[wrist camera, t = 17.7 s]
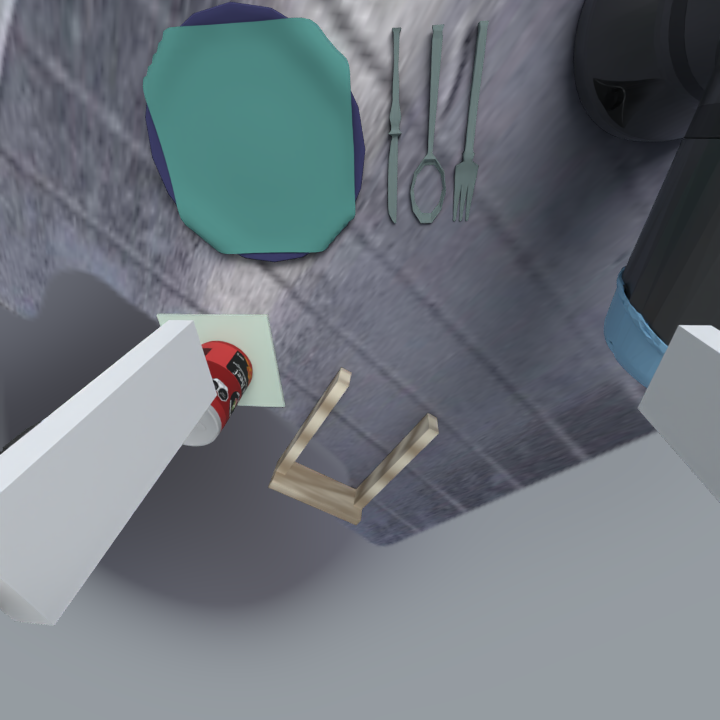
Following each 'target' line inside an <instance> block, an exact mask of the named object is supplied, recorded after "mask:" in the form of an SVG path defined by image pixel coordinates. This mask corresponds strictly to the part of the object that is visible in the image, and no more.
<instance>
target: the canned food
mask: <svg viewBox="0 0 720 720" xmlns="http://www.w3.org/2000/svg"><path fill="white" fill-rule="evenodd" d="M201 346H202V349H203V352H204V355H205V358H206V361H207V364H208V368H209V371H210V374H211V377H212V380H213V383H214V386H215V390H216V393H217V396H216V397H215V398H214V400H213V401H212V403H211V404H210V406H209V407H208V408H207V410H206V411H205V413H204V414H203V415H202V417H201V418H200V420H199V421H198V423H197V424H196V425H195V427H194V428H193V430H192V431H191V432H190V434H189V435H188V437H187V438H186V439H185V441H184V442H183V444H184V445H189V446H202V445H207V444H209V443H211V442H213V441H214V440H215V438H216V437H217V436H218V435H219V434H220V432H221V430H222V429H223V427H224V426H225V424H226V423H227V421H228V419H229V418H230V416H231V414H232V412H233V411H234V409H235V407H236V406H237V404H238V402H239V401H240V399H241V397H242V396H243V394H244V392H245V391H246V389H247V387H248V386H249V384H250V382H251V380H252V373H253V368H252V364H251V362H250V360H249V358H248V357H247V355H246V354H245V353H244V352H243V351H242V350H241V349H239V348H238V347H236V346H235V345H233V344H230V343H228V342H224V341H209V342H206V343H204V344H202V345H201Z"/></svg>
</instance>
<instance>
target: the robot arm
mask: <svg viewBox="0 0 720 720" xmlns="http://www.w3.org/2000/svg"><path fill="white" fill-rule="evenodd" d="M574 76H575V83H576V87H577V91H578V94H579V97H580V100H581V102H582V105H583V106H584V108H585V110H586V112H587V113H588V115H589V116H590V117H591V119H592V120H593V121H594V122H595V123H596V124H597V125H598V126H599V127H600V128H602V129H603V130H605V131H606V132H608V133H610V134H612V135H614V136H616V137H619V138H622V139H626V140H631V141H669V140H675V139H679V138H686V139H683V140H682V142H681V144H680V147H679V149H678V151H677V153H676V156H675V158H674V160H673V162H672V164H671V167H670V169H669V171H668V173H667V176H666V178H665V180H664V182H663V185H662V187H661V189H660V191H659V194H658V196H657V198H656V200H655V203H654V205H653V207H652V209H651V212H650V214H649V216H648V218H647V220H646V223H645V225H644V227H643V229H642V232H641V234H640V236H639V238H638V241H637V243H636V245H635V247H634V250H633V252H632V254H631V256H630V259H629V261H628V263H627V265H626V266H625V267H623V268H622V269H621V271H620V273H619V275H618V278H617V289H616V291H615V294H614V297H613V299H612V302H611V305H610V307H609V310H608V313H607V315H606V318H605V322H604V336H605V340H606V342H607V344H608V346H609V349H610V350H611V351H612V352H613V353H614V356H615V358H616V360H617V361H618V362H619V364H620V365H621V366H622V367H623V368H624V369H625V370H626V371H627V372H628V373H629V374H630V375H631V376H632V377H633V378H635V379H636V380H637V381H638V382H639V383H641V384H642V385H643V386H645V387H646V388H647V390H646V392H645V394H644V396H643V398H642V400H641V402H640V404H639V406H638V409H639V411H640V412H641V413H642V414H643V415H644V416H645V417H646V419H647V420H648V421H649V422H650V423H651V424H652V426H653V427H654V428H655V429H656V430H657V431H658V432H659V434H660V435H661V436H662V437H663V438H664V439H665V441H666V442H667V443H668V444H669V445H670V446H671V447H672V449H673V450H674V451H675V452H676V453H677V454H678V455H679V457H680V458H681V459H682V460H683V461H684V462H685V463H686V465H687V466H688V467H689V468H690V469H691V470H692V472H693V473H694V474H695V475H696V476H697V477H698V478H699V480H700V481H701V482H702V483H703V484H704V485H705V487H706V488H707V489H708V490H709V491H710V492H711V493H712V495H713V496H714V497H715V498H716V499H717V500H718V501H719V503H720V0H585V3H584V6H583V9H582V12H581V15H580V19H579V23H578V27H577V32H576V38H575V46H574ZM216 396H217V393H216V390H215V386H214V383H213V380H212V377H211V374H210V371H209V368H208V364H207V361H206V358H205V355H204V352H203V349H202V346H201V342H200V339H199V336H198V333H197V330H196V327H195V324H194V320H168V321H167V322H166V323H165V324H163V325H162V326H161V327H160V328H158V329H157V330H156V331H155V332H153V333H152V334H151V335H150V336H148V337H147V338H146V339H145V340H143V341H142V342H141V343H140V344H138V345H137V346H136V347H135V348H133V349H132V350H131V351H130V352H128V353H127V354H126V355H125V356H123V357H122V358H121V359H120V360H118V361H117V362H116V363H114V364H113V365H112V366H111V367H110V368H108V369H107V370H106V371H105V372H103V373H102V374H101V375H99V376H98V377H97V378H96V379H95V380H93V381H92V382H91V383H89V384H88V385H87V386H86V387H85V388H83V389H82V390H81V391H79V392H78V393H77V394H76V395H74V396H73V397H72V398H71V399H70V400H68V401H67V402H66V403H65V404H63V405H62V406H61V407H59V408H58V409H57V410H56V411H54V412H53V413H52V414H51V415H49V416H48V417H47V418H46V419H44V420H42V421H40V422H38V423H37V424H35V425H33V426H31V427H29V428H27V429H26V430H25V431H24V432H22V433H21V434H20V435H18V436H17V437H16V438H14V439H13V440H12V441H11V442H9V443H8V444H7V445H6V446H4V447H3V451H2V452H0V609H1V610H2V611H3V612H4V613H6V614H7V615H8V616H9V617H11V618H12V619H13V620H14V621H17V622H26V623H35V624H44V625H55V624H56V622H57V621H58V619H59V618H60V616H61V615H62V614H63V612H64V610H65V609H66V608H67V607H68V605H69V604H70V602H71V601H72V599H73V598H74V597H75V595H76V594H77V592H78V591H79V589H80V588H81V587H82V585H83V584H84V582H85V581H86V580H87V578H88V577H89V575H90V574H91V572H92V571H93V570H94V568H95V567H96V565H97V564H98V562H99V561H100V560H101V558H102V557H103V556H104V554H105V553H106V551H107V550H108V549H109V547H110V546H111V544H112V543H113V541H114V540H115V539H116V537H117V536H118V534H119V533H120V531H121V530H122V529H123V527H124V526H125V524H126V523H127V522H128V520H129V519H130V517H131V516H132V514H133V513H134V512H135V510H136V509H137V507H138V506H139V505H140V503H141V502H142V500H143V499H144V497H145V496H146V495H147V493H148V492H149V490H150V489H151V488H152V486H153V485H154V483H155V482H156V481H157V479H158V478H159V476H160V475H161V473H162V472H163V471H164V469H165V468H166V466H167V465H168V464H169V462H170V461H171V459H172V458H173V456H174V455H175V454H176V452H177V451H178V449H179V448H180V447H181V445H182V444H183V442H184V441H185V439H186V438H187V437H188V435H189V434H190V432H191V431H192V430H193V428H194V427H195V425H196V424H197V423H198V421H199V420H200V418H201V417H202V415H203V414H204V413H205V411H206V410H207V408H208V407H209V406H210V404H211V403H212V401H213V400H214V398H215V397H216Z"/></svg>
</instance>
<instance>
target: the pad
mask: <svg viewBox="0 0 720 720" xmlns="http://www.w3.org/2000/svg"><path fill="white" fill-rule="evenodd" d="M157 318H158V320H159V323H160V326H162V325H163V324H165V323H166V322H167V321H168V320H194V324H195V327H196V330H197V333H198V336H199V339H200V342H201V345H202V344H204V343H206V342H209V341H224V342H228V343H230V344H233V345H235V346H236V347H238V348H239V349H241V350H242V351H243V352H244V353H245V354H246V355H247V357H248V358H249V360H250V362H251V364H252V368H253V373H252V380H251V382H250V384H249V386H248V387H247V389H246V391H245V392H244V394H243V396H242V397H241V399H240V401H239V402H238V404H237V406H238V405H239V406H266V407H285V402H284V397H283V391H282V386H281V381H280V376H279V370H278V365H277V360H276V355H275V350H274V344H273V339H272V334H271V329H270V324H269V318H268V315H238V314H158V315H157Z"/></svg>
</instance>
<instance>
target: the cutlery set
mask: <svg viewBox="0 0 720 720" xmlns="http://www.w3.org/2000/svg"><path fill="white" fill-rule="evenodd" d="M488 22H489V21H480V22H479V23H478V35H477V42H476V51H475V60H474V68H473V76H472V85H471V94H470V104H469V113H468V122H467V132H466V142H465V152H463V161H462V162H461V163H459V164H458V165H456V166H455V187H454V210H453V221H456V214H457V208H458V202H459V196H460V190H461V196H460V215H459V221H462V216H463V209H464V204H465V198H466V193H467V203H466V220H465V221H468V217H469V211H470V206H471V200H472V195H473V190H474V185H475V181H476V177H477V171H478V167H479V166H478V165H477V164H475V163H474V162H472V160H473V157H474V155H475V153H474V152H473V145H474V136H475V126H476V116H477V108H478V100H479V92H480V84H481V76H482V69H483V61H484V53H485V45H486V36H487V26H488ZM443 27H444V24H443V25H432V29H433V38H432V60H431V87H430V112H429V137H428V154H427V155H426V157H425V158H424V159H423V161H422V162H421V164H420V165H419V167H418V168H417V169H416V171H415V172H414V177H413V181H412V186H411V191H410V194H411V201H412V208H413V212H414V213H415V215H416V216H417V218H418V220H419V221H420V223H432V221H433V220H434V219H435V217H436V216H437V215H438V213H439V212H440V211H441V208H442V204H443V200H444V196H445V192H446V186H445V176H444V170H443V169H442V167H441V166H440V164H439V162H438V161H437V159H436V158H435V156H434V155H433V153H432V151H433V141H434V130H435V118H436V108H437V97H438V85H439V74H440V62H441V51H442V39H443V35H442V30H443ZM392 31H393V33H394V74H393V102H392V107H391V113H390V122H391V131H390V133H389V134H390V135H391V136H392V141H391V147H390V156H389V167H388V210H389V214H390V217H391V219H392V221H393V222H394V223H396V212H397V158H398V136H399V135H400V134H401V132H400V130H399V123H400V120H401V113H400V107H399V73H398V60H399V33H400V31H401V28H392ZM143 90H144V95H145V99H146V102H147V105H146V116H145V119H146V124H147V130H148V136H149V141H150V147H151V153H152V158H153V160H154V163H155V165H156V167H157V169H158V172H159V174H160V176H161V178H162V181H163V183H164V185H165V187H166V190H167V192H168V194H169V195H170V197H171V198H172V199H173V201H174V202H175V203H176V205H177V208H178V212H179V214H180V217H181V219H182V221H183V222H184V223H185V225H186V226H188V227H189V228H190V229H191V230H193V231H194V232H195V233H196V234H197V235H199V236H200V237H201V238H202V239H204V240H205V241H206V242H207V243H208V244H210V245H211V246H212V247H213V248H215V249H216V250H217V251H218V252H221V253H224V254H238V255H240V256H242V257H244V258H249V259H256V260H263V261H270V262H278V261H284V260H289V259H295V258H301V257H304V256H305V255H307V254H309V253H311V252H321V251H324V250H325V249H327V248H328V246H329V244H330V243H331V242H332V241H334V239H335V237H336V236H337V235H338V234H340V232H341V230H342V229H343V228H345V227H346V226H347V224H348V222H349V221H351V220H352V219H354V216H355V201H356V199H357V196H358V194H359V192H360V189H361V184H362V175H363V166H364V157H365V145H364V139H363V133H362V126H361V120H360V114H359V108H358V105H357V103H356V101H355V99H354V96H353V94H352V92H351V87H350V70H349V64H348V61H347V59H346V58H345V57H344V56H343V55H342V54H341V53H340V52H339V51H338V50H337V49H336V48H335V47H334V46H333V44H332V43H331V42H330V41H329V40H328V39H327V37H326V36H325V34H324V33H323V32H322V30H321V29H320V27H319V26H318V25H317V24H316V23H314V22H313V21H311V20H310V19H305V18H287V17H286V16H284V15H282V14H281V13H279V12H277V11H276V10H274V9H272V8H269V7H263V6H256V5H249V4H242V3H235V2H228V3H225V4H222V5H219V6H215V7H212V8H209V9H206V10H203V11H200V12H196V13H193V14H192V15H191V16H190V17H189V18H188V19H187V20H186V21H185V22H184V23H183V24H182V25H181V26H180V27H171V28H168V29H166V30H165V31H164V33H163V39H162V41H161V42H159V43H158V49H157V53H155V54H154V55H153V60H152V64H151V65H150V66H148V71H147V76H145V77H144V78H143ZM424 165H434V166H435V167H436V168H437V169H438V171H439V172H440V174H441V178H442V185H443V190H442V194H441V197H440V201H439V204H438V205H437V206H436V208H435V209H434V210H433V211H432V213H421V211H420V209H419V208H418V206H417V205H416V203H415V197H414V190H413V189H414V185H415V181H416V177H417V174H418V173H419V172H420V171H421V169H422V168H423V167H424Z"/></svg>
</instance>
